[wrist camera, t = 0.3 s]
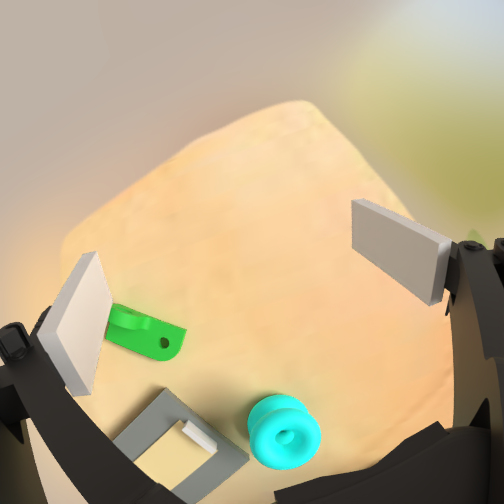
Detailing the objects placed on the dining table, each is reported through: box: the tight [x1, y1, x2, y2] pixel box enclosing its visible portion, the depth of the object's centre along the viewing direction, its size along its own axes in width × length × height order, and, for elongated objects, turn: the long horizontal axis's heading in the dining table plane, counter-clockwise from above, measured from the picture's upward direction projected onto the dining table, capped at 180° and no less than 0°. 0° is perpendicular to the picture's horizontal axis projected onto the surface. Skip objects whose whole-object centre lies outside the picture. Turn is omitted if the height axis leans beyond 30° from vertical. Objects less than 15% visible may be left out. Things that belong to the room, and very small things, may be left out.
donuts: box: [247, 395, 321, 470], centre depth 41 cm, size 10×10×10 cm
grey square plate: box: [112, 388, 250, 504], centre depth 41 cm, size 18×18×5 cm
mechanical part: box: [105, 304, 187, 361], centre depth 44 cm, size 12×6×8 cm, turn 72°
